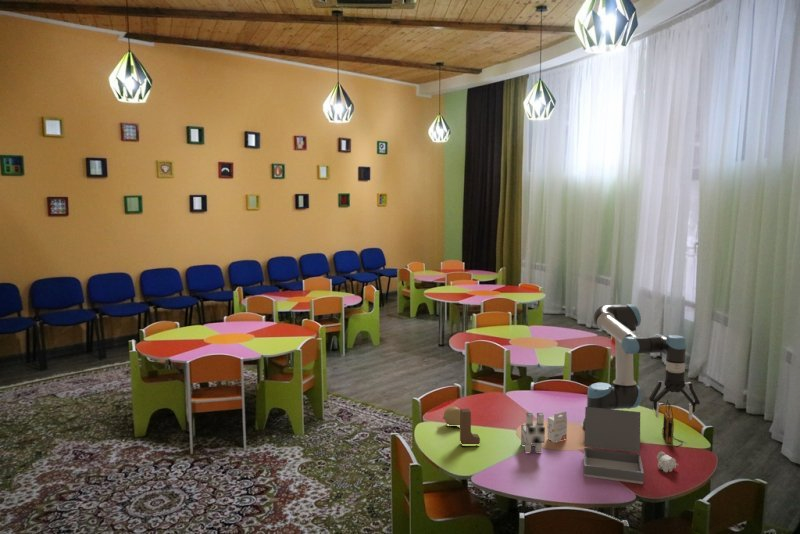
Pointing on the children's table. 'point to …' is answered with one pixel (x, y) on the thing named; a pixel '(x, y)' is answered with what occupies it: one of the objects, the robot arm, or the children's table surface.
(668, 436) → the multimeter
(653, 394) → the robot arm
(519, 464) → the children's table surface
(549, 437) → the ink cartridge box
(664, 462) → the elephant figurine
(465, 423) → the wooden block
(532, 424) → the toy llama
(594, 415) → the case lid
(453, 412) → the toy pig
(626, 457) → the case
